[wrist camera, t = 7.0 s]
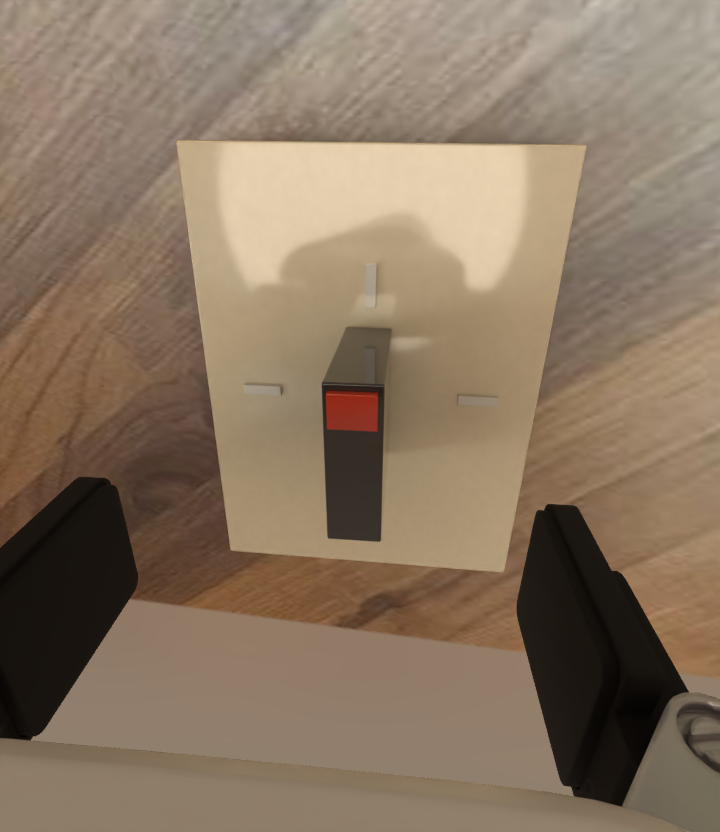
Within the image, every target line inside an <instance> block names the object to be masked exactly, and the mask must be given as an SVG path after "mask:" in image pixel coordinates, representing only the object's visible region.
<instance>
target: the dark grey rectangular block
mask: <svg viewBox="0 0 720 832" xmlns="http://www.w3.org/2000/svg"><path fill="white" fill-rule="evenodd" d="M391 354H392V329H391V328H355V327H346V328H345V330H344V333H343V335H342V337H341V340H340V342H339V344H338V347H337V349H336V351H335V354H334V356H333V358H332V360H331V363H330V365H329V367H328V370H327V372H326V374H325V377H324V379H323V381H322V384H321V388H322V414H323V440H324V466H325V491H326V517H327V537H328V538H329V539H341V540H357V541H372V542H380V541H381V537H382V525H383V514H384V502H385V490H386V478H387V467H388V455H389V422H390V388H391Z"/></svg>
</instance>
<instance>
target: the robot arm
mask: <svg viewBox="0 0 720 832" xmlns="http://www.w3.org/2000/svg"><path fill="white" fill-rule="evenodd" d="M137 583H138V572H137V568H136V564H135V560H134V556H133V552H132V547H131V543H130V539H129V535H128V531H127V527H126V522H125V518H124V514H123V510H122V506H121V502H120V497H119V493H118V490H117V488H116V486H114V485H111V483H110V481H109V480H108V479H106V478H94V477H78V478H77V479H75V480H74V481H73V482H72V483H71V484H70V485H69V486H68V487H66V488H65V489H64V490H63V491H62V492H61V493H60V494H59V495H58V496H57V497H55V498H54V499H53V500H52V501H51V502H50V503H49V504H48V505H47V506H46V507H45V508H43V509H42V510H41V511H40V512H39V513H38V514H37V515H36V516H35V517H34V518H33V519H31V520H30V521H29V522H28V523H27V524H26V525H25V526H24V527H23V528H22V529H20V530H19V531H18V532H17V533H16V534H15V535H14V536H13V537H12V538H11V539H10V540H8V541H7V542H6V543H5V544H4V545H3V546H2V547H1V548H0V832H720V699H718V698H716V697H712V696H709V695H705V694H701V693H689V691H688V690H687V688H686V686H685V684H684V683H683V681H682V679H681V677H680V675H679V674H678V672H677V670H676V668H675V666H674V665H673V663H672V661H671V659H670V658H669V656H668V654H667V652H666V650H665V649H664V647H663V645H662V643H661V641H660V640H659V638H658V636H657V634H656V633H655V631H654V629H653V627H652V625H651V624H650V622H649V620H648V618H647V616H646V615H645V613H644V611H643V609H642V608H641V606H640V604H639V602H638V600H637V599H636V597H635V595H634V593H633V591H632V590H631V588H630V586H629V584H628V583H627V581H626V579H625V578H624V577H623V575H622V574H621V573H619V572H618V571H611V569H610V567H609V565H608V563H607V561H606V559H605V558H604V556H603V554H602V552H601V550H600V548H599V546H598V545H597V543H596V541H595V539H594V537H593V535H592V533H591V531H590V530H589V528H588V526H587V524H586V522H585V520H584V518H583V517H582V515H581V513H580V511H579V509H578V508H577V507H576V506H574V505H557V504H548V505H546V507H545V510H544V511H543V510H538V511H537V512H536V515H535V519H534V524H533V529H532V534H531V538H530V543H529V548H528V552H527V557H526V562H525V567H524V571H523V576H522V581H521V585H520V590H519V595H518V600H517V618H518V622H519V626H520V630H521V633H522V637H523V641H524V645H525V649H526V652H527V656H528V660H529V663H530V668H531V671H532V675H533V679H534V683H535V687H536V690H537V694H538V698H539V702H540V705H541V709H542V713H543V717H544V721H545V725H546V728H547V732H548V736H549V740H550V744H551V747H552V751H553V755H554V759H555V763H556V766H557V770H558V774H559V777H560V780H561V782H562V784H563V785H564V786H570V787H572V791H573V795H574V796H568V795H562V794H556V793H550V792H544V791H536V790H527V789H519V788H511V787H502V786H493V785H486V784H477V783H469V782H459V781H451V780H442V779H432V778H422V777H412V776H402V775H392V774H382V773H372V772H362V771H352V770H342V769H332V768H322V767H312V766H302V765H291V764H281V763H270V762H260V761H249V760H239V759H229V758H218V757H206V756H197V755H186V754H175V753H164V752H154V751H143V750H131V749H120V748H109V747H98V746H86V745H74V744H64V743H52V742H42V741H41V742H40V741H30V740H31V739H32V737H33V736H37V735H39V734H40V733H41V732H42V731H43V730H44V729H45V727H46V726H47V725H48V723H49V722H50V720H51V718H52V717H53V715H54V714H55V712H56V711H57V709H58V707H59V706H60V705H61V703H62V702H63V700H64V698H65V697H66V695H67V694H68V692H69V691H70V689H71V688H72V686H73V685H74V683H75V682H76V680H77V679H78V677H79V675H80V674H81V672H82V671H83V669H84V668H85V666H86V665H87V663H88V662H89V660H90V659H91V657H92V656H93V654H94V653H95V651H96V649H97V648H98V646H99V645H100V643H101V642H102V640H103V639H104V637H105V636H106V634H107V633H108V631H109V630H110V628H111V626H112V625H113V623H114V622H115V620H116V619H117V617H118V616H119V614H120V613H121V611H122V609H123V608H124V607H125V605H126V604H127V602H128V600H129V599H130V597H131V596H132V594H133V593H134V591H135V589H136V586H137Z"/></svg>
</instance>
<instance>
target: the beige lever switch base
mask: <svg viewBox="0 0 720 832" xmlns="http://www.w3.org/2000/svg"><path fill="white" fill-rule="evenodd" d="M176 144H177V151H178V159H179V166H180V174H181V181H182V189H183V196H184V204H185V211H186V219H187V226H188V234H189V241H190V249H191V256H192V264H193V271H194V279H195V286H196V294H197V301H198V309H199V316H200V324H201V331H202V339H203V346H204V354H205V361H206V369H207V376H208V384H209V391H210V399H211V406H212V414H213V421H214V429H215V436H216V444H217V451H218V459H219V466H220V474H221V481H222V489H223V496H224V504H225V511H226V519H227V526H228V534H229V541H230V549H231V551H241V552H254V553H266V554H279V555H291V556H304V557H316V558H329V559H341V560H354V561H366V562H379V563H391V564H404V565H416V566H429V567H441V568H454V569H467V570H479V571H492V572H504V570H505V565H506V560H507V554H508V549H509V544H510V539H511V534H512V529H513V524H514V518H515V513H516V508H517V503H518V498H519V493H520V487H521V482H522V477H523V472H524V467H525V462H526V457H527V451H528V446H529V441H530V436H531V431H532V426H533V421H534V415H535V410H536V405H537V400H538V395H539V390H540V385H541V379H542V374H543V369H544V364H545V359H546V354H547V348H548V343H549V338H550V333H551V328H552V323H553V318H554V312H555V307H556V302H557V297H558V292H559V287H560V282H561V276H562V271H563V266H564V261H565V256H566V251H567V245H568V240H569V235H570V230H571V225H572V220H573V215H574V209H575V204H576V199H577V194H578V189H579V184H580V179H581V173H582V168H583V163H584V158H585V153H586V148H587V147H586V145H572V144H485V143H399V142H313V141H227V140H177V141H176ZM346 327H355V328H391V329H392V354H391V388H390V422H389V455H388V467H387V478H386V490H385V502H384V514H383V525H382V537H381V541H380V542H372V541H357V540H341V539H329V538H328V537H327V517H326V491H325V466H324V440H323V414H322V388H321V384H322V381H323V379H324V377H325V374H326V372H327V370H328V367H329V365H330V363H331V360H332V358H333V356H334V354H335V351H336V349H337V347H338V344H339V342H340V340H341V337H342V335H343V333H344V330H345V328H346Z"/></svg>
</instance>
